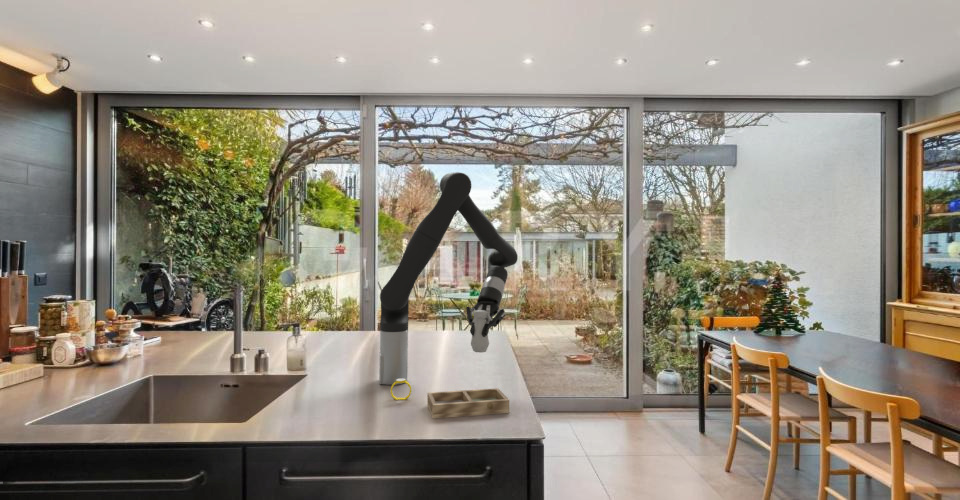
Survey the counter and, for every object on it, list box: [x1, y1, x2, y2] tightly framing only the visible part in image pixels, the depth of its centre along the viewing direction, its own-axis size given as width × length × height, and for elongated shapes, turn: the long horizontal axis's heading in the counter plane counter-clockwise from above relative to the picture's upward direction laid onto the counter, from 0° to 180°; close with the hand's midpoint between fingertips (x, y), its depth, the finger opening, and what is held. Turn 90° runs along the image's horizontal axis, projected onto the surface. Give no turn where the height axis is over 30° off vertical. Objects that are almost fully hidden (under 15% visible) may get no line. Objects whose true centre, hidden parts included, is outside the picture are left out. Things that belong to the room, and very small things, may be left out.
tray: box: [426, 387, 510, 419], centre depth 131 cm, size 21×11×4 cm, turn 104°
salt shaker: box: [470, 310, 490, 354], centre depth 149 cm, size 6×6×13 cm
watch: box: [390, 378, 412, 401], centre depth 138 cm, size 6×3×6 cm, turn 97°
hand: (478, 335), depth 147 cm, fingers closed on salt shaker, 3 cm apart
